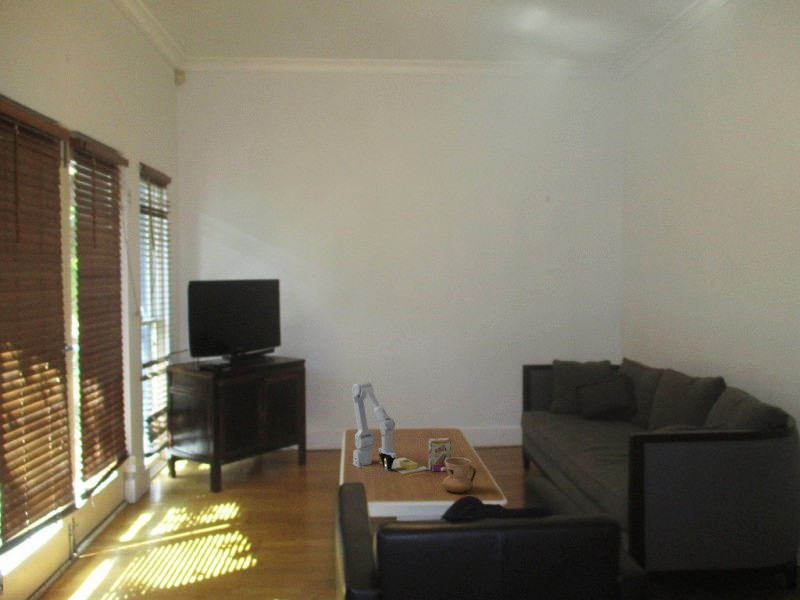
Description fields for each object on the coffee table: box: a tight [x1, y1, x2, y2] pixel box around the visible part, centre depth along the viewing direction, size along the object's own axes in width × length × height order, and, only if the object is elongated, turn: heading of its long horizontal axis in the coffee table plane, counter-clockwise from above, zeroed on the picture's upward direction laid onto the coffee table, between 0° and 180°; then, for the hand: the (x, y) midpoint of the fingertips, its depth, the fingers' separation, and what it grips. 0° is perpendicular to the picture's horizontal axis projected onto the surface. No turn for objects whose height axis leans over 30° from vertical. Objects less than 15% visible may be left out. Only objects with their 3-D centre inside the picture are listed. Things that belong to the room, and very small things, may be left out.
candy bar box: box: [427, 437, 452, 473], centre depth 353 cm, size 11×5×16 cm, turn 102°
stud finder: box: [400, 458, 418, 471], centre depth 354 cm, size 5×9×3 cm, turn 32°
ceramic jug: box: [440, 456, 477, 493], centre depth 322 cm, size 18×14×14 cm
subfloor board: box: [378, 457, 429, 477], centre depth 359 cm, size 16×24×1 cm, turn 32°
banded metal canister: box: [384, 458, 390, 472], centre depth 351 cm, size 3×3×7 cm
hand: (387, 468), depth 351 cm, fingers open, 4 cm apart
